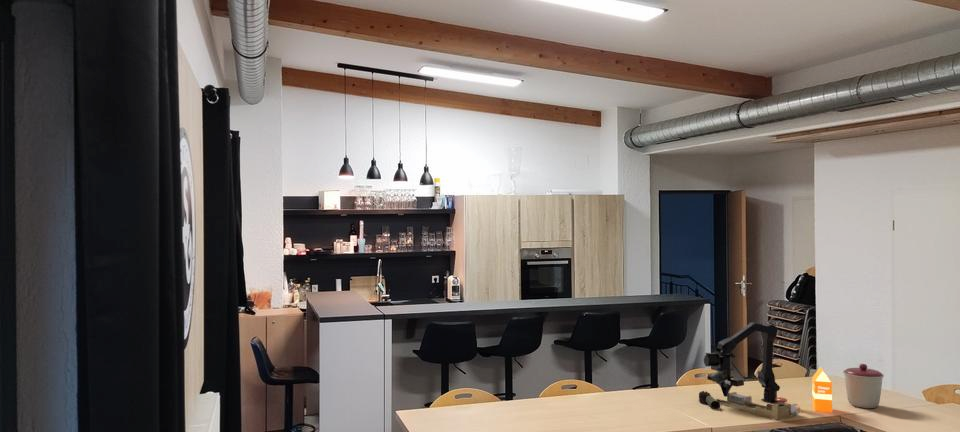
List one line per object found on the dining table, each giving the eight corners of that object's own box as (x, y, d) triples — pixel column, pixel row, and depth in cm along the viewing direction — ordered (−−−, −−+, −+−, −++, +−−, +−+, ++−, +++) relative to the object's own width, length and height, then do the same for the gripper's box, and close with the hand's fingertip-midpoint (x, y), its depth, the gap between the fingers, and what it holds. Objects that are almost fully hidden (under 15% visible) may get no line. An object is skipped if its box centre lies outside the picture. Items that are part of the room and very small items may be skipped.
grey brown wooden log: (720, 409, 336) (720, 398, 336) (706, 409, 336) (706, 398, 336) (708, 400, 353) (708, 389, 353) (695, 400, 353) (695, 389, 353)
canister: (888, 405, 342) (888, 363, 342) (879, 412, 329) (879, 369, 329) (848, 399, 354) (848, 358, 354) (838, 406, 341) (838, 364, 341)
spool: (734, 403, 346) (734, 391, 347) (751, 407, 338) (751, 396, 338) (727, 404, 343) (727, 393, 343) (744, 409, 335) (744, 397, 335)
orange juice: (829, 407, 338) (829, 367, 338) (832, 412, 329) (832, 371, 330) (812, 406, 340) (811, 366, 341) (814, 411, 332) (814, 370, 332)
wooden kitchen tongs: (736, 398, 355) (736, 381, 355) (800, 415, 324) (800, 397, 324) (716, 403, 347) (716, 385, 347) (779, 420, 316) (779, 401, 316)
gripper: (699, 364, 352) (700, 394, 352) (729, 371, 336) (730, 402, 336) (714, 362, 358) (714, 391, 358) (744, 368, 342) (744, 399, 342)
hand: (725, 396), depth 348 cm, fingers closed
